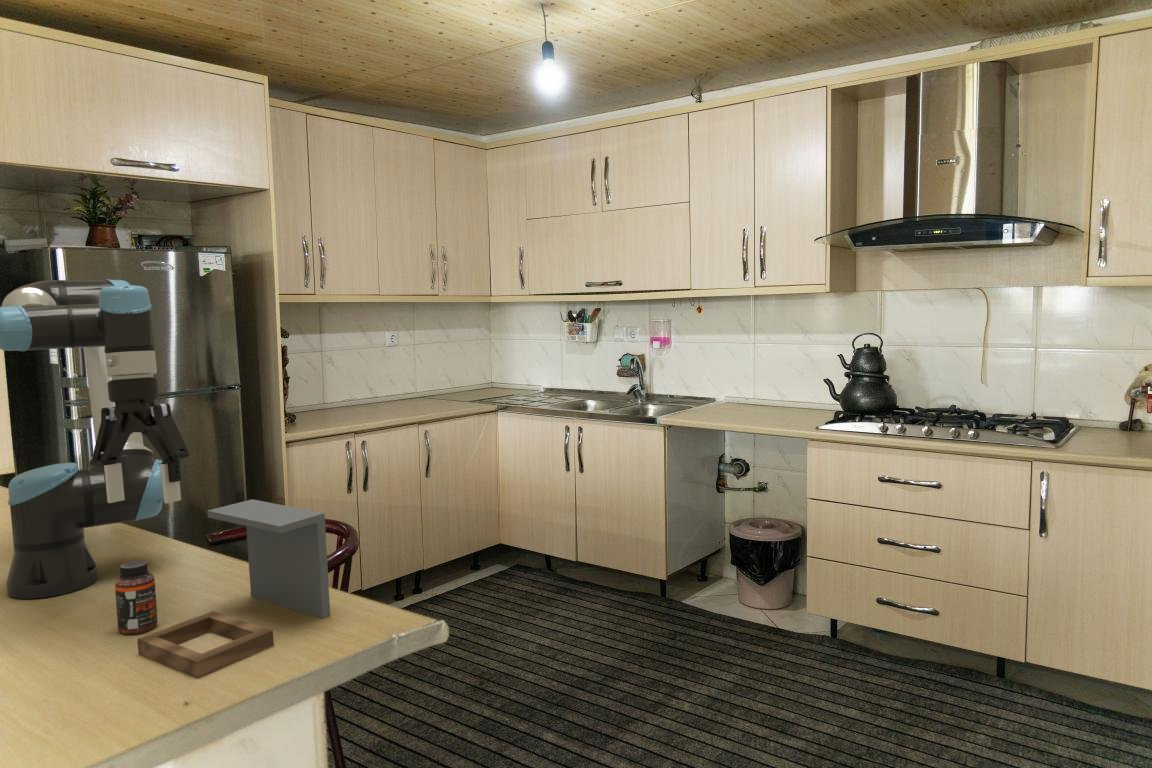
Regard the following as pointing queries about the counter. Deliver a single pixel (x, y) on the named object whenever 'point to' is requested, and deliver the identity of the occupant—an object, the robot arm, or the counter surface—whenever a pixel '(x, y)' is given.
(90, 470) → the robot arm
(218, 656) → the wooden frame
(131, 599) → the supplement bottle
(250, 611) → the counter surface
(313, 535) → the grey l-shaped bracket
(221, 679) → the counter surface
